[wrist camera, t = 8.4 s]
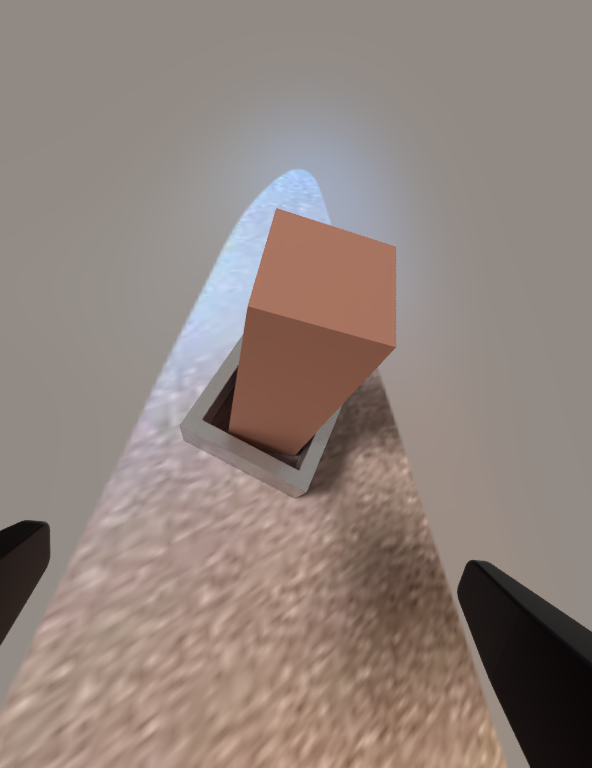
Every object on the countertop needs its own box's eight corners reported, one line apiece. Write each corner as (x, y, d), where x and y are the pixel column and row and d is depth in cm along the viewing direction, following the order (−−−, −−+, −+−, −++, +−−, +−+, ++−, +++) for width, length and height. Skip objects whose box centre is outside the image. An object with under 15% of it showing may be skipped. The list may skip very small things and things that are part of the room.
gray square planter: (295, 498, 18) (306, 491, 16) (183, 440, 18) (179, 425, 16) (337, 398, 21) (352, 381, 19) (244, 349, 21) (247, 327, 19)
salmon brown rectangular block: (293, 456, 19) (395, 347, 9) (226, 441, 18) (247, 306, 8) (303, 396, 21) (395, 246, 10) (242, 381, 20) (276, 208, 10)
